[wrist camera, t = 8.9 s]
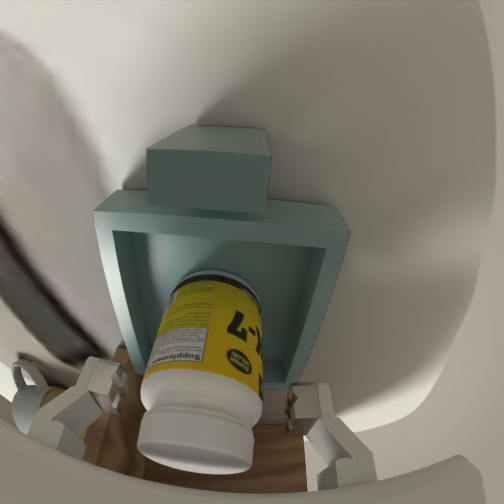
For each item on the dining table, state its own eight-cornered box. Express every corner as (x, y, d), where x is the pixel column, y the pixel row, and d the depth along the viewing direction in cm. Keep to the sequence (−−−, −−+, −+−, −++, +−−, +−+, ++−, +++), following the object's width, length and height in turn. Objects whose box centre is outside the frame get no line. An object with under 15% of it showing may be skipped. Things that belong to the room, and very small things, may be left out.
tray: (113, 126, 10) (41, 155, 6) (348, 142, 11) (403, 178, 6) (145, 346, 18) (125, 407, 13) (292, 360, 18) (298, 426, 14)
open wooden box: (117, 346, 18) (63, 523, 6) (335, 366, 19) (364, 552, 7) (147, 415, 25) (124, 532, 13) (299, 428, 25) (306, 548, 13)
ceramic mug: (99, 410, 26) (82, 463, 19) (65, 408, 27) (48, 452, 21) (34, 351, 21) (3, 409, 14) (8, 357, 22) (-17, 403, 16)
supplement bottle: (272, 324, 15) (279, 474, 8) (196, 340, 16) (172, 474, 9) (243, 254, 13) (231, 439, 6) (155, 279, 14) (97, 432, 7)
